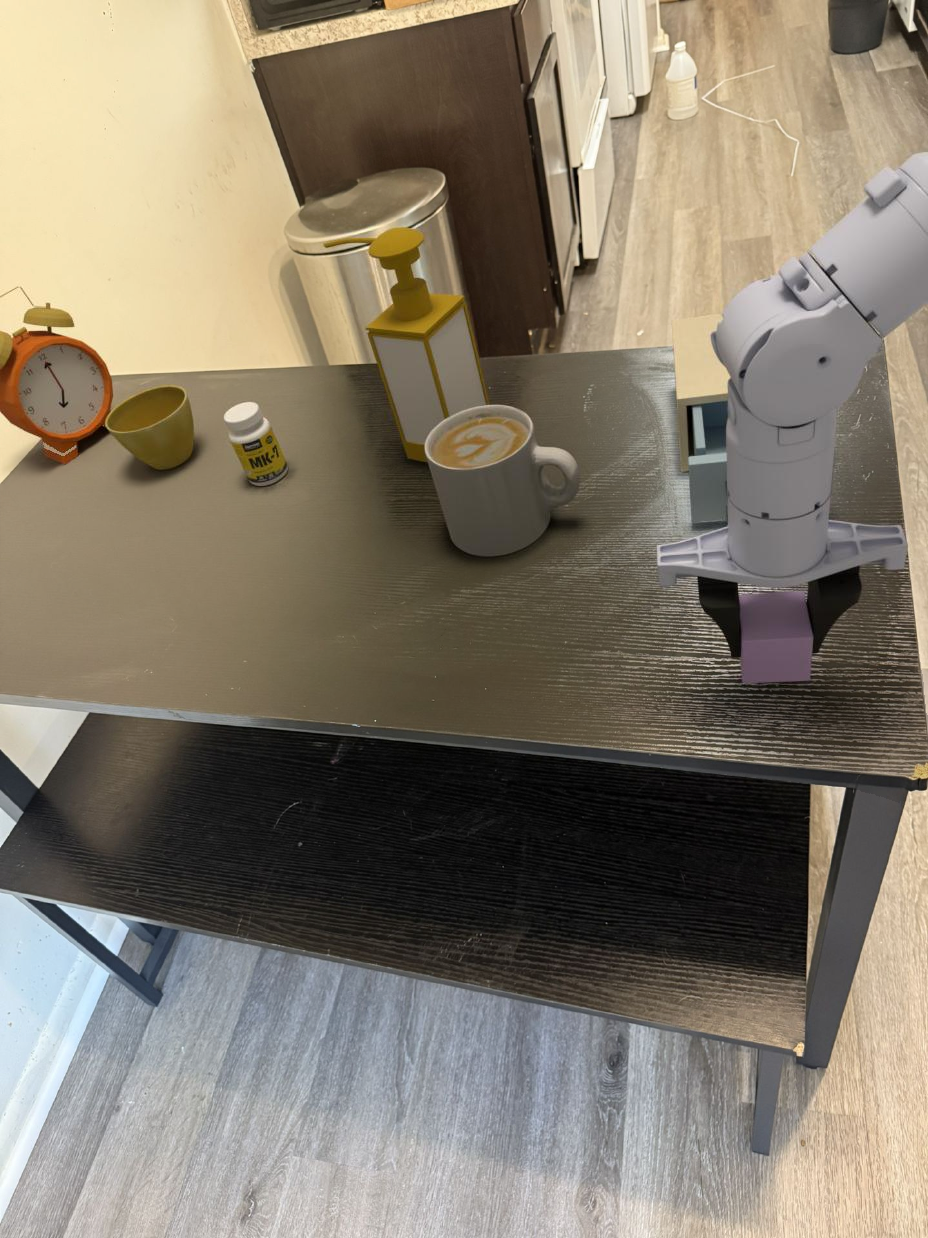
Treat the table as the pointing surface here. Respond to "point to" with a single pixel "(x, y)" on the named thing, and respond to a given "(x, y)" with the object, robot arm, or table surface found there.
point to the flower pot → (155, 426)
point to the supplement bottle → (255, 444)
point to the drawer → (710, 462)
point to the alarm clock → (53, 383)
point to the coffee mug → (495, 479)
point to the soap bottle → (421, 345)
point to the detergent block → (775, 637)
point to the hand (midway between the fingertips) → (773, 644)
